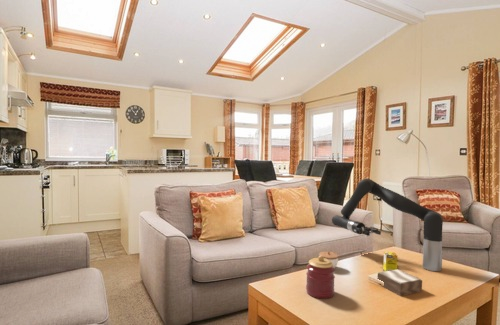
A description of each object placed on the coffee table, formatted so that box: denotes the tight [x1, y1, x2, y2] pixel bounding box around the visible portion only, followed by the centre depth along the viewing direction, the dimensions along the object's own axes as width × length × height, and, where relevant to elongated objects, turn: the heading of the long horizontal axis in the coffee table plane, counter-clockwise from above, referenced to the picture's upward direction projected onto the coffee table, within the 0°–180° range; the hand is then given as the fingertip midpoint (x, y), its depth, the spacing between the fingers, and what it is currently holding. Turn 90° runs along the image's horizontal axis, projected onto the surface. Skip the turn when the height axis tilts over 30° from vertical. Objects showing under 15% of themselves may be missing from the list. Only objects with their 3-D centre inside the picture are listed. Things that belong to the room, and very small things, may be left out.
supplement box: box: [382, 251, 399, 272], centre depth 167 cm, size 6×6×11 cm
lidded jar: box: [318, 251, 339, 268], centre depth 172 cm, size 11×11×9 cm
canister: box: [305, 255, 336, 300], centre depth 140 cm, size 13×13×18 cm
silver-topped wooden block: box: [377, 268, 423, 297], centre depth 148 cm, size 14×14×6 cm
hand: (374, 233), depth 178 cm, fingers open, 8 cm apart
